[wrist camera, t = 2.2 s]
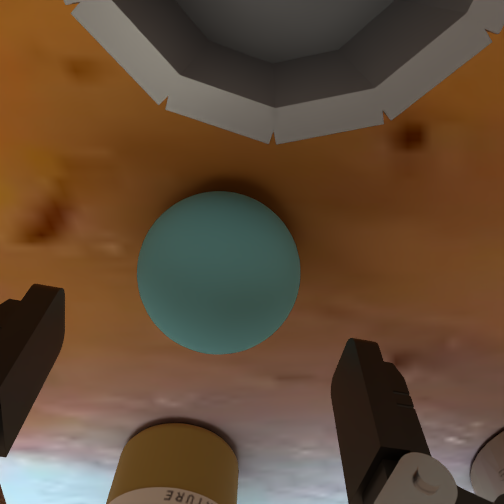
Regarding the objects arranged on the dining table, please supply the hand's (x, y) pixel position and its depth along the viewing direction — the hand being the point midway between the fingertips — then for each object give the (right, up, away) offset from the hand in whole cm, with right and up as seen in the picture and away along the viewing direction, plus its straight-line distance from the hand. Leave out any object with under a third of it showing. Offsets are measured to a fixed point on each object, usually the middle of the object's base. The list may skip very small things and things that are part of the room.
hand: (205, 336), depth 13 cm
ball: (0, +2, +4) cm, 5 cm away
